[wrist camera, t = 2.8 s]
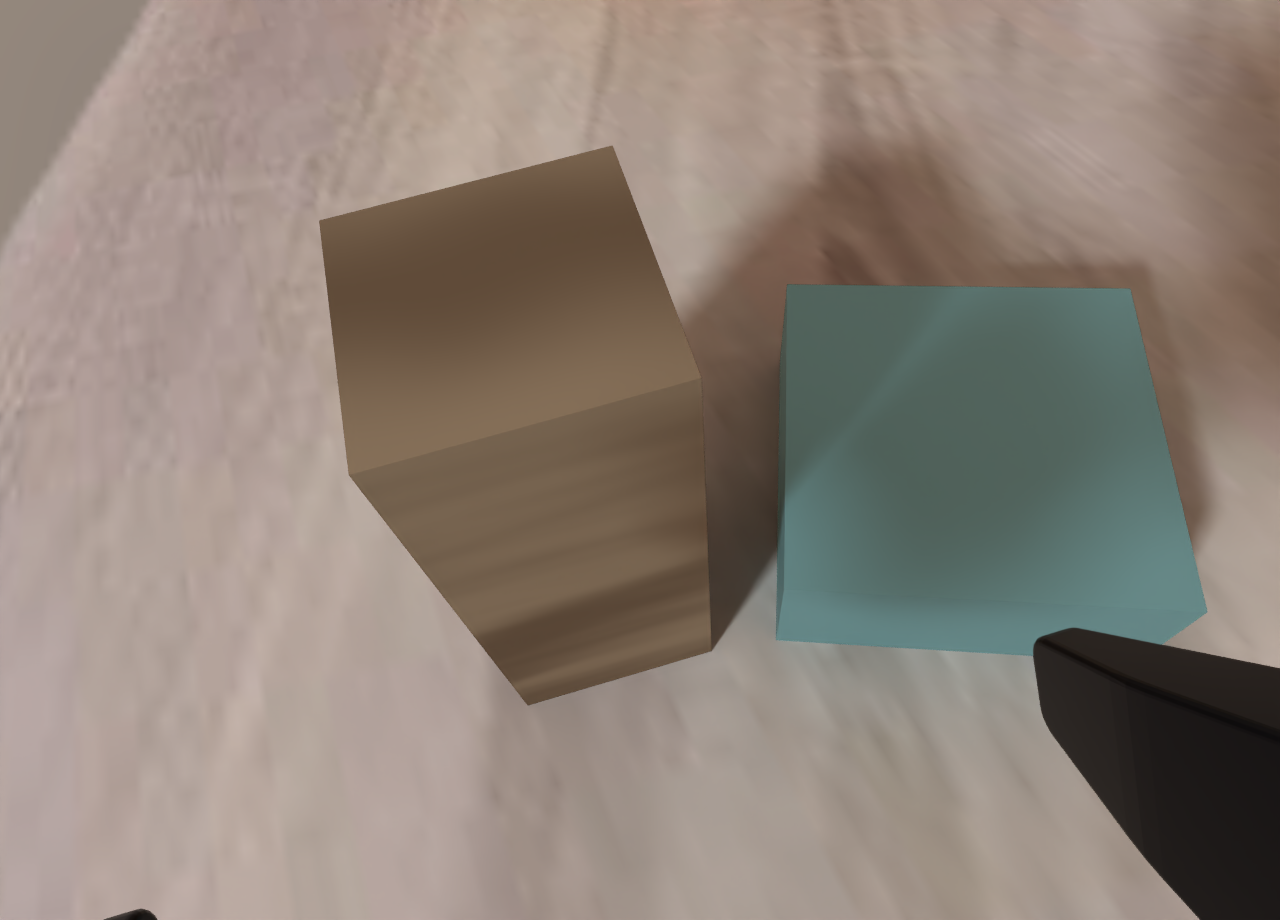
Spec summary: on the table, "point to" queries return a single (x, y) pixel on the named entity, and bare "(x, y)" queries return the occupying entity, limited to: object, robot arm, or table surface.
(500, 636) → the walnut block
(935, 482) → the teal base block
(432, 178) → the table surface
